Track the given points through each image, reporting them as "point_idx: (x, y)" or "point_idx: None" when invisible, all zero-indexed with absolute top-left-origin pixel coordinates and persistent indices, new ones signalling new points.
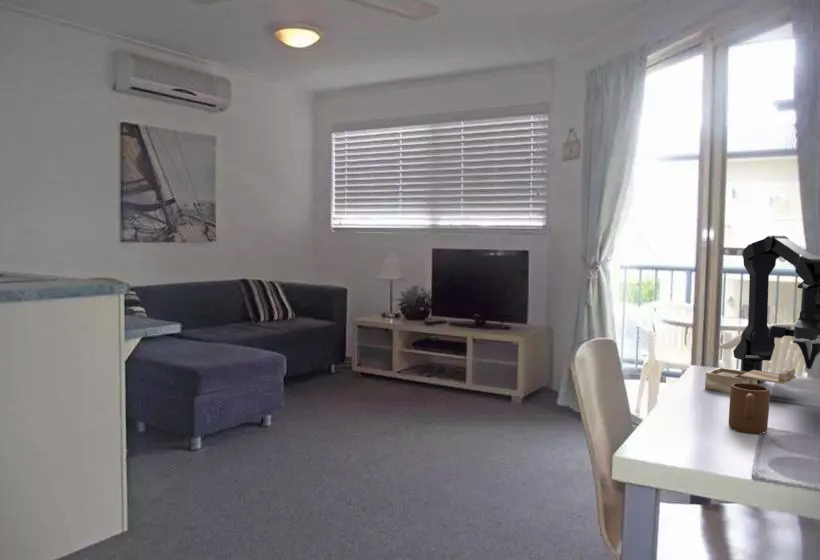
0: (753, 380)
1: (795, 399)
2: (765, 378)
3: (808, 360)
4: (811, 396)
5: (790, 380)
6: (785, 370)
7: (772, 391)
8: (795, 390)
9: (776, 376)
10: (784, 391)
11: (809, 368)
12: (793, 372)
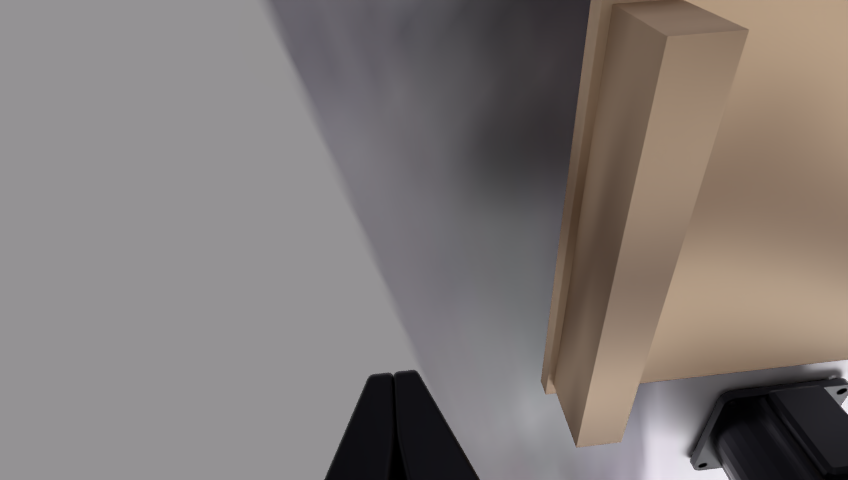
0: None
1: (473, 185)
2: (840, 33)
3: (408, 477)
4: (421, 342)
5: (559, 252)
6: (656, 313)
7: None
8: (529, 397)
9: (699, 258)
10: None
11: (385, 374)
12: (571, 391)
